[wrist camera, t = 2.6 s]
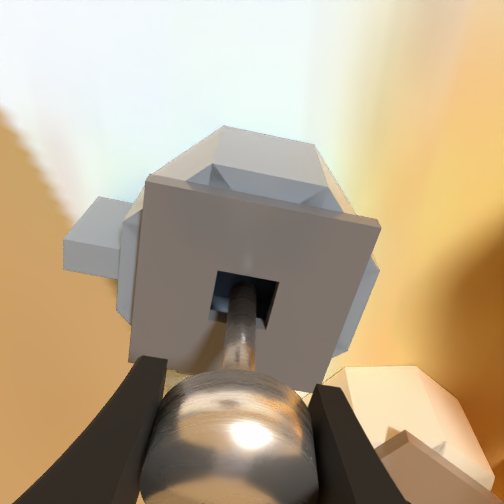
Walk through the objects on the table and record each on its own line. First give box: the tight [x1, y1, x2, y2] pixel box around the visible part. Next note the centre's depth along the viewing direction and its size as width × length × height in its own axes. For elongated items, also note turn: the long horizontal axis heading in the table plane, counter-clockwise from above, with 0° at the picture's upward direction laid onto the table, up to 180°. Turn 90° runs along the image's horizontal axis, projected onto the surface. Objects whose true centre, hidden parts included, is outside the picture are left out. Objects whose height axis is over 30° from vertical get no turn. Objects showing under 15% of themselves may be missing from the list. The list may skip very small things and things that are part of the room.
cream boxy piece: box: [302, 365, 504, 504], centre depth 23 cm, size 10×8×5 cm
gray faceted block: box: [63, 126, 381, 393], centre depth 17 cm, size 10×8×5 cm
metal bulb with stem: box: [140, 281, 319, 504], centre depth 12 cm, size 4×4×7 cm
